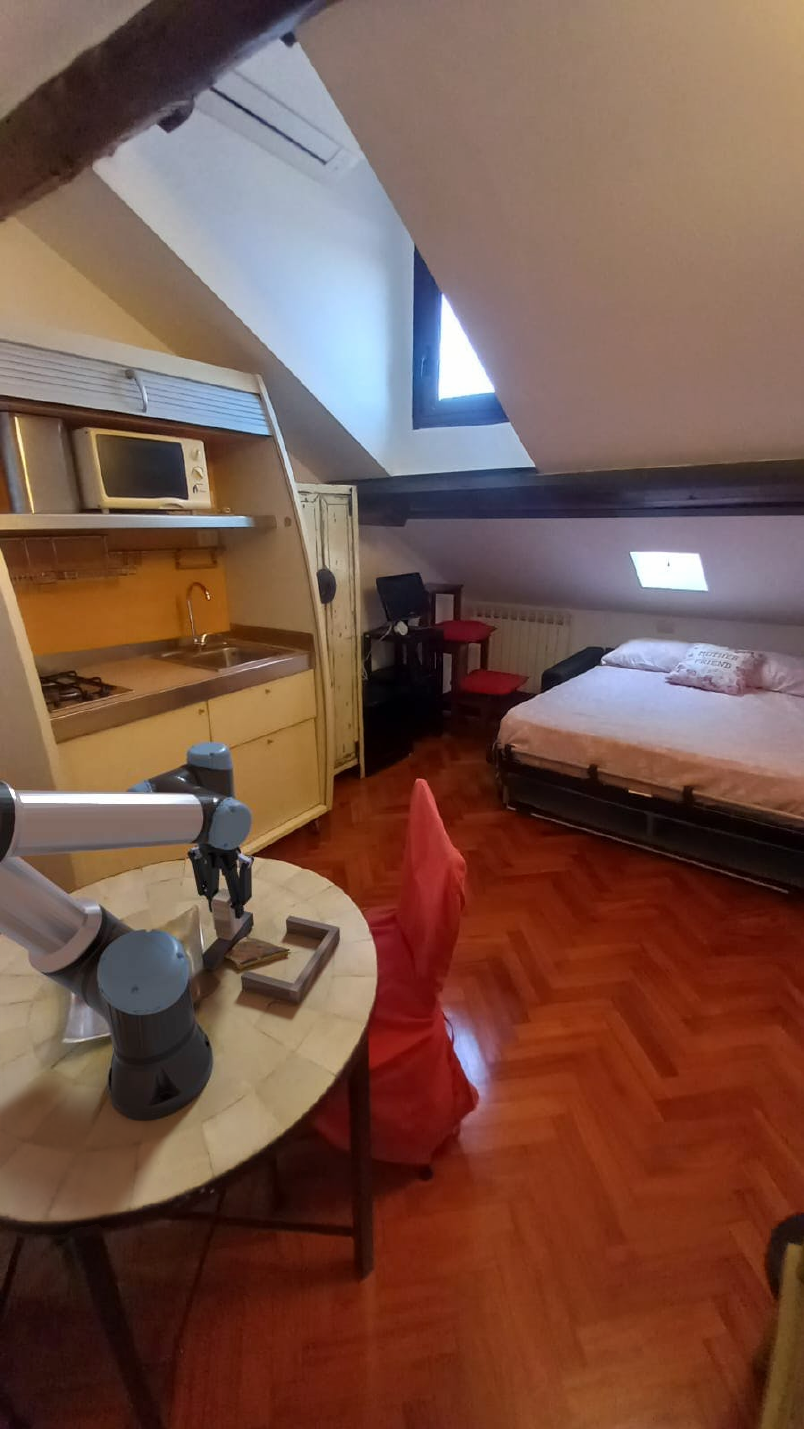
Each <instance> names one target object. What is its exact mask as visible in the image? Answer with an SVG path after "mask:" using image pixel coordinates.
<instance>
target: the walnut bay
mask: <svg viewBox="0 0 804 1429" xmlns="http://www.w3.org/2000/svg"><path fill="white" fill-rule="evenodd" d="M285 927H286V932H287V933H290V934H295V935H297V936H303V937H307V938H311V939H315V940H319V941H321V943H320V944H319V945H318V947H317V948H316V950H315V951H314V953H313V954H312V955H311V957H310V959H309V960H308V962H307V963H306V964H305V966H304V968H303V969H302V971H301V972H300V973H299V975H298V976H297V978H296V979H295V981H294V982H289V981H286V980H282V979H279V978H274V977H271V976H267V975H264V974H260V973H256V972H253V971H248V970H244V971H243V973H242V974H241V975H240V981H241V982H240V983H241V990H244V991H246V992H247V991H248V992H251V993H255V994H258V995H262V996H265V997H269V998H272V999H276V1000H279V1001H283V1002H286V1003H290V1004H293V1005H297V1006H299V1004H300V1003H301V1002H302V999H304V997H305V995H306V993H307V992H308V990H309V989H310V987H311V986H312V984H313V982H314V980H315V979H316V978H317V977H318V975H319V973H320V971H321V970H322V968H324V965H325V963H326V962H327V961H328V959H329V957H330V956H331V954H332V953H333V951H334V949H335V948H336V947H337V945H338V943H339V942H340V940H341V932H340V931H341V930H340V927H339V926H335V925H332V924H328V923H323V922H320V921H315V920H310V919H306V918H302V917H297V916H293V915H288V917H286V919H285Z"/></svg>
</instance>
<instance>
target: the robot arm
mask: <svg viewBox="0 0 804 1429" xmlns="http://www.w3.org/2000/svg"><path fill="white" fill-rule="evenodd" d="M185 761H186V763H185V764H182V765H180V766H179V767H175V768H174V769H171V770H169V771H166V772H163V773H160V774H158V775H156V776H153V777H150V778H148V779H144V780H143V781H141V782H139V783H137V784H134V785H133V786H130V787H129V788H127V789H126V791H88V790H87V791H86V790H84V791H83V790H78V791H77V790H66V791H65V790H33V789H29V790H28V789H25V790H23V789H13V788H12V787H11V785H10V784H8V783H7V782H6V781H3V780H0V934H2V935H3V936H5V937H6V938H7V939H10V940H11V941H12V942H14V943H16V945H19V946H21V947H23V948H24V949H25V950H27V951H28V952H27V956H28V957H27V958H28V962H29V964H30V966H31V967H32V968H33V969H34V970H36V971H37V972H39V973H41V974H42V975H44V976H46V977H48V979H51V980H52V981H54V982H55V983H57V984H59V985H60V986H62V987H63V988H64V989H66V990H68V991H69V992H70V993H72V994H73V995H75V997H77V998H79V999H80V1000H81V1001H82V1002H83V1003H85V1004H86V1005H87V1006H88V1007H89V1008H91V1009H92V1010H93V1011H94V1012H96V1013H97V1014H98V1015H99V1016H101V1017H102V1018H103V1019H104V1020H105V1022H106V1023H107V1025H108V1030H109V1034H110V1037H111V1038H110V1039H111V1043H112V1048H113V1052H112V1056H111V1062H110V1068H109V1071H108V1075H107V1076H108V1077H107V1091H108V1093H109V1097H110V1102H111V1105H112V1106H113V1108H114V1109H115V1110H116V1112H118V1113H119V1114H120V1115H121V1116H123V1117H125V1118H128V1119H131V1120H135V1121H151V1120H156V1119H161V1118H164V1117H167V1116H169V1115H171V1114H174V1113H175V1112H177V1111H179V1110H181V1109H182V1108H184V1107H185V1106H187V1105H188V1104H189V1103H191V1102H192V1101H193V1100H194V1099H195V1098H196V1097H197V1096H198V1095H199V1094H200V1093H201V1092H202V1090H203V1089H204V1088H205V1086H206V1084H207V1083H208V1081H209V1079H210V1076H211V1074H212V1071H213V1065H214V1057H213V1056H214V1055H213V1048H212V1045H211V1041H210V1039H209V1037H208V1036H207V1033H205V1031H204V1029H203V1028H202V1027H201V1025H200V1024H199V1023H198V1021H197V1020H196V1016H195V1009H194V1003H193V995H192V989H191V988H192V987H191V981H190V966H189V961H188V960H187V959H188V958H187V955H186V954H185V950H184V947H183V946H182V944H181V943H180V940H179V939H178V938H177V937H176V936H174V935H172V933H169V932H167V931H164V930H161V929H156V928H155V929H154V928H153V929H151V930H150V931H147V929H137V930H135V929H134V928H132V927H131V926H129V925H127V924H126V923H125V922H124V921H122V920H120V919H119V918H118V917H116V916H115V915H114V914H112V912H110V911H108V909H106V908H105V907H104V906H102V905H101V903H98V902H97V901H96V900H94V899H92V898H89V897H78V898H74V897H72V896H71V895H70V894H69V893H67V892H66V891H65V890H63V889H62V888H61V887H59V886H58V885H56V884H55V883H54V882H53V881H52V880H50V879H49V878H47V877H46V876H45V875H44V874H42V873H41V872H40V871H38V870H37V869H36V868H34V867H33V866H32V865H30V864H29V863H27V862H26V861H25V860H23V858H22V857H30V856H42V855H43V856H45V855H55V854H56V855H58V854H70V853H72V854H73V853H85V852H99V851H111V850H112V851H113V850H124V849H126V850H127V849H136V848H137V849H138V848H153V847H165V846H178V845H179V846H180V845H194V844H196V845H195V846H193V847H192V848H191V849H190V850H189V851H188V852H187V853H186V854H187V856H188V858H189V860H190V862H191V864H192V870H193V871H192V872H193V874H194V881H195V885H196V886H195V887H196V891H197V894H198V896H200V897H202V896H204V897H206V900H207V901H208V902H207V903H208V909H209V913H212V920H213V929H214V930H215V931H216V928H215V919H214V910H213V901H212V898H213V897H214V896H215V895H216V894H217V893H218V892H219V891H220V890H221V889H220V874H221V875H222V876H223V877H224V880H225V882H226V887H227V889H228V891H229V895H230V898H231V902H232V903H231V904H230V905H229V915H230V924H231V933H232V934H236V933H237V932H238V930H239V929H240V928H241V927H242V916H243V915H244V911H245V906H246V904H247V903H248V902H249V901H250V900H251V899H252V897H253V881H252V879H253V878H252V877H253V876H252V873H253V872H252V871H253V870H252V866H253V864H254V861H255V858H254V856H253V855H249V856H248V857H247V856H246V855H245V854H242V849H241V848H240V846H241V845H242V844H243V843H244V842H245V841H246V839H247V838H248V836H249V834H250V832H251V828H252V824H253V815H252V811H251V810H250V808H249V807H248V806H247V805H246V804H245V803H243V802H241V801H239V800H237V799H236V792H235V781H234V780H235V778H234V765H233V760H232V755H231V750H230V748H229V747H228V746H227V745H226V744H224V743H221V742H218V741H207V742H201V743H197V744H195V745H192V746H191V747H190V748H189V749H188V750H187V751H186V760H185ZM238 869H239V871H238ZM220 872H221V873H220Z"/></svg>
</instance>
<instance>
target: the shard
mask: <svg viewBox="0 0 804 1429" xmlns="http://www.w3.org/2000/svg"><path fill="white" fill-rule="evenodd" d="M290 951H291V949H290V948H289V949H288V948H286V947H283V946H278V945H276V944H273V943H271V942H267V941H265V940H263V939H262V940H261V939H259V938H254V937H253V938H252V937H250V936H244V937H243V938H242V939H241V940H240V941H238V942H237V943H236V944H235V946H234V947H233V948H232V949H231V950H230V951H228V952H227V953H226V955H225V959H228V960H231V961H232V962H233V963H234V964H235V966H236V967H237V969H238V970H243V969H245V968H248V967H249V966H254V965H258V964H260V963H266V962H268V961H273V960H276V959H279V958H282V957H286V955H287V956H288V954H289V952H290Z"/></svg>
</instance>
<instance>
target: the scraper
mask: <svg viewBox="0 0 804 1429" xmlns="http://www.w3.org/2000/svg"><path fill="white" fill-rule="evenodd" d="M212 901H213V910H214V919H215V928H216V930H215V934H216V935H215V936H216V939H215V940H214V941H213V942H212V944H211V945H209V946H208V947H207V949H206V950H205V951H204V952H202V954H201V958H202V968H203V969H207V970H210V971H216V970H217V968H218V967H219V966H220V965H221V964H222V962H224V960H225V959H226V958H225V955H226V953H227V952H228V951H230V950H231V949H232V948H233V947H234V946H235V944H236V943H237V942H238V941H240V940H241V939H243V938H244V937H246V934H247V933H248V932H249V931H250V930H251V929H252V928H253V926H254V925H255V922H254V913H253V912H249V911H247V910H244V915H243V916H242V927H241V928H240V929H239V930H238V932H237V933H236V934H232V933H231V924H230V915H229V905H230V904H231V903H232V902H231V898H230V895H229V891H228V888H225V887H224V888H221V889H220V891H219V892H218V893H217V894H216V895H215V896H214V897H213V898H212Z"/></svg>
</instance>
